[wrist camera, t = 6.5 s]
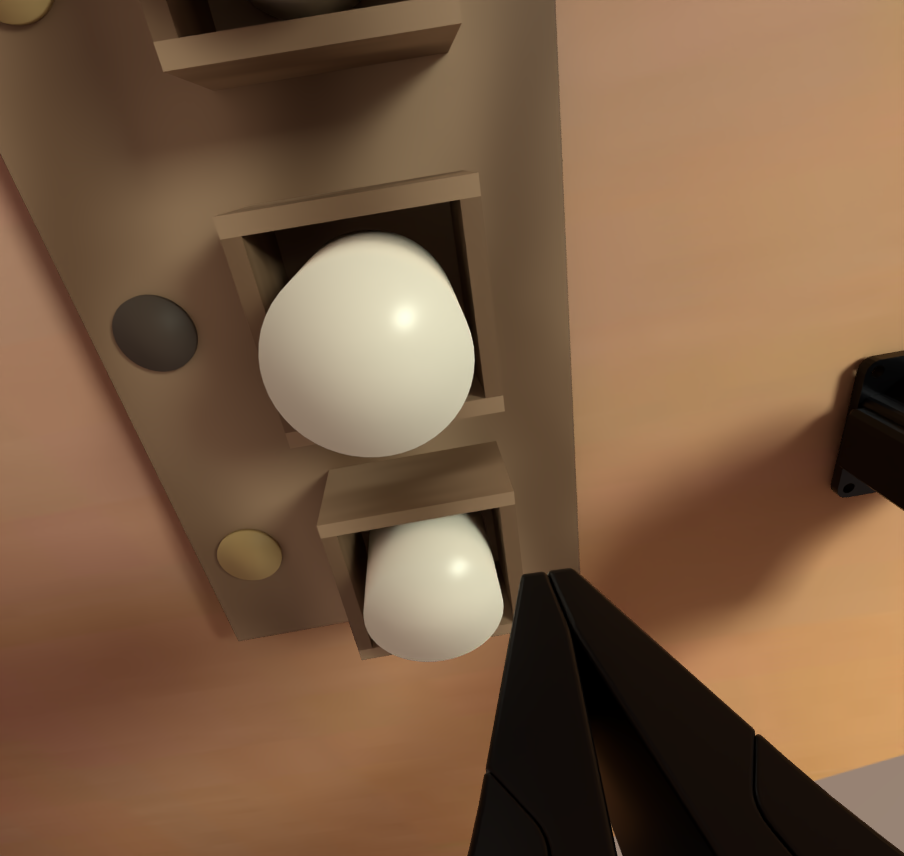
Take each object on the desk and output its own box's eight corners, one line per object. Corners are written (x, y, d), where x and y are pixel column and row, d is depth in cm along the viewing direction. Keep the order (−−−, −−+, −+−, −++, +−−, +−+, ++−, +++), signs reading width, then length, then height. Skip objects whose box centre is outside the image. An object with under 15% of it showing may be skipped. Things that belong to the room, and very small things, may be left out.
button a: (477, 475, 19) (495, 547, 15) (491, 566, 21) (509, 648, 17) (357, 496, 19) (348, 573, 15) (382, 585, 21) (379, 672, 17)
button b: (442, 216, 13) (458, 236, 10) (465, 374, 15) (485, 439, 12) (272, 244, 13) (226, 275, 10) (318, 400, 15) (294, 472, 12)
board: (523, -385, 11) (592, -682, 7) (572, 561, 24) (607, 642, 20) (-173, -279, 11) (-495, -527, 7) (246, 619, 24) (214, 713, 20)
